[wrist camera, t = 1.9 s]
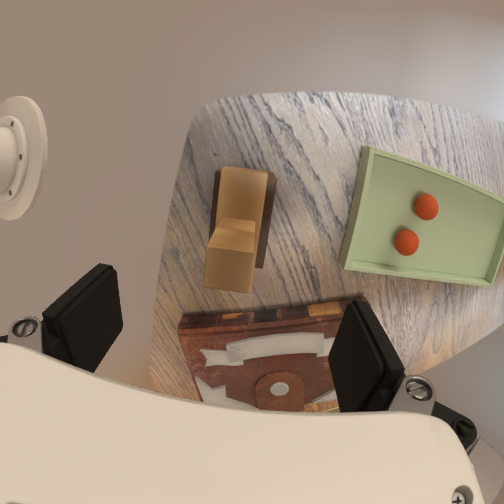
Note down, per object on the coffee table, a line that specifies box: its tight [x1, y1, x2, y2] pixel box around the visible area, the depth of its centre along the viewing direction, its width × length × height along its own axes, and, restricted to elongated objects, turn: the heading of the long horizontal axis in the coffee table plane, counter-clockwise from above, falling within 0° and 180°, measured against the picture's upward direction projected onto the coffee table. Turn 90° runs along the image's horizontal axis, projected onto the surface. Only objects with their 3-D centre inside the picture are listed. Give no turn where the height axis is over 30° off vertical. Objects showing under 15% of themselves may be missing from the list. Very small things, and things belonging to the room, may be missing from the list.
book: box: [178, 297, 371, 412], centre depth 33 cm, size 23×16×5 cm
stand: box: [209, 168, 277, 268], centre depth 26 cm, size 5×8×6 cm, turn 172°
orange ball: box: [414, 194, 439, 221], centre depth 25 cm, size 3×3×3 cm
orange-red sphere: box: [394, 229, 419, 256], centre depth 27 cm, size 3×3×3 cm
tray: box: [338, 147, 504, 287], centre depth 27 cm, size 27×13×2 cm, turn 82°
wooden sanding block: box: [204, 166, 268, 293], centre depth 18 cm, size 3×9×10 cm, turn 173°
